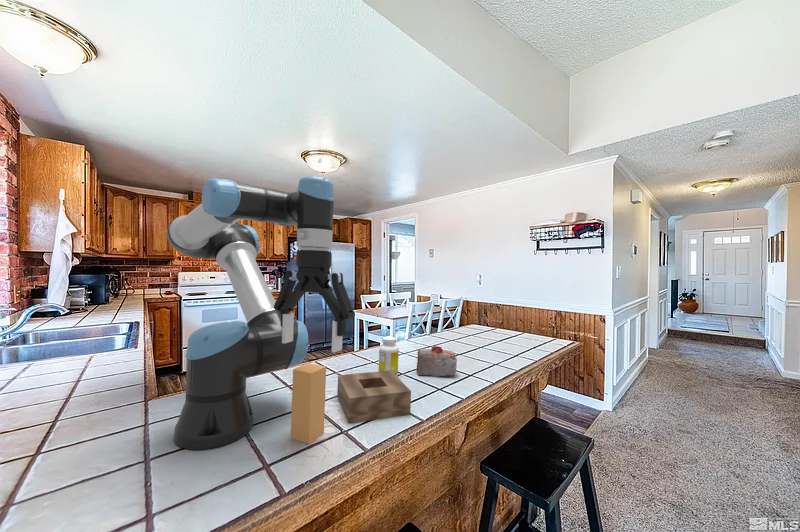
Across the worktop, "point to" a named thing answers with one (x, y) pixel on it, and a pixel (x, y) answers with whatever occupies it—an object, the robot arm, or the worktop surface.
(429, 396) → the worktop surface
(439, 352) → the food item
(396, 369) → the supplement bottle
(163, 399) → the worktop surface
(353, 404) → the socket block
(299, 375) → the peg
